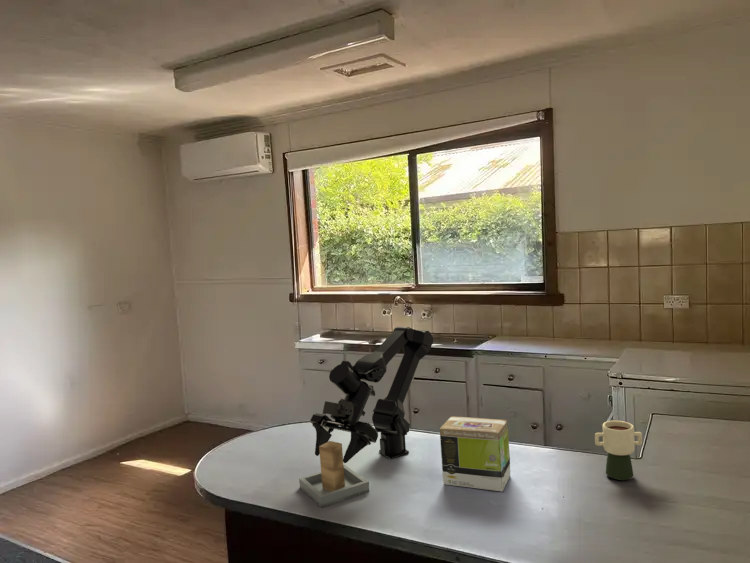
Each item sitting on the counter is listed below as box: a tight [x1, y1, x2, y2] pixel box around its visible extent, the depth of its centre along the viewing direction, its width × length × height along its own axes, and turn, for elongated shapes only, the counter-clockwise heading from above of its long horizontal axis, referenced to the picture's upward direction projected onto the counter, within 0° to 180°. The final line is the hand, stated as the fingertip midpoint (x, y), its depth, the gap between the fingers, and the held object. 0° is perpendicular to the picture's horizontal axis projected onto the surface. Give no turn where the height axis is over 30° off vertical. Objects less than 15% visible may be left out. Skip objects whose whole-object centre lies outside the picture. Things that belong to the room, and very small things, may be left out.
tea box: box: [439, 415, 511, 492], centre depth 144 cm, size 15×10×15 cm, turn 65°
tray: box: [299, 464, 370, 508], centre depth 145 cm, size 13×13×2 cm
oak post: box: [319, 440, 345, 491], centre depth 144 cm, size 4×4×11 cm
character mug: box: [594, 420, 643, 481], centre depth 141 cm, size 11×7×13 cm, turn 82°
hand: (329, 458), depth 144 cm, fingers open, 9 cm apart
